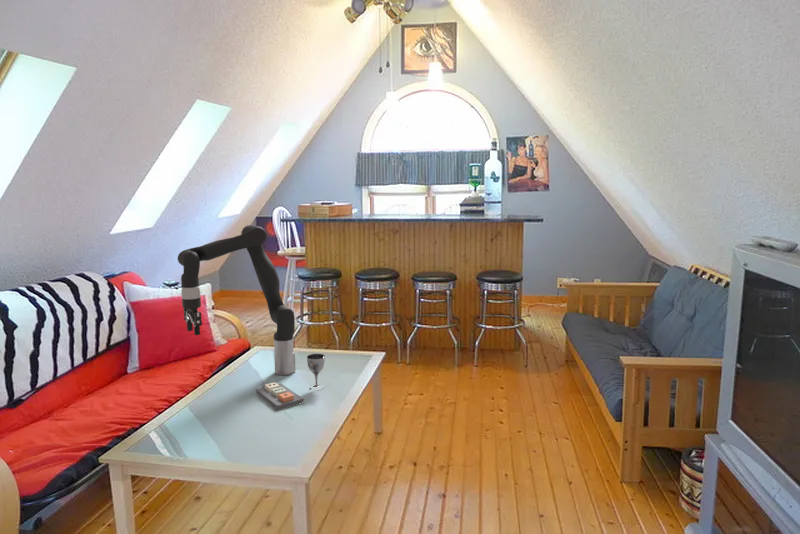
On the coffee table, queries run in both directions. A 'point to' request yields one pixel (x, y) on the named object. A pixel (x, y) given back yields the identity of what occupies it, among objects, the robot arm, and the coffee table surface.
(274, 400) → the button board
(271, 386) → the cream button
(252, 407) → the coffee table surface
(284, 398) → the terracotta button
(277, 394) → the sage button
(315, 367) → the wine glass
